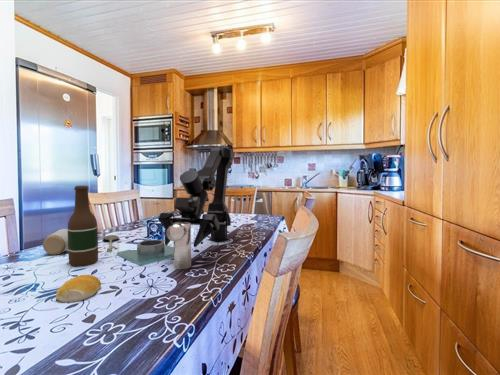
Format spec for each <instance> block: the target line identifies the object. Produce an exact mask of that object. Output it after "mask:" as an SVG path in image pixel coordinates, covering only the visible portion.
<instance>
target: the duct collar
mask: <svg viewBox="0 0 500 375" xmlns="http://www.w3.org/2000/svg"><path fill="white" fill-rule="evenodd" d="M136 246H137V247H136V248H137V250H130V249H126V250H121V251H117V252H116V255H117V256H118V257H120V258H123V259H124V260H127V261H129V262H131V263H133V264H136V265H138V266H145V265H149V264H151V263H155V262H159V261H163V260H167V259H169V258H171V259H172V258H174V246H171V245H169V244H168V245H165V240H163V239H148V240H141V241H140V242H137V245H136Z"/></svg>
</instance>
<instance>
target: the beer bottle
mask: <svg viewBox="0 0 500 375" xmlns="http://www.w3.org/2000/svg"><path fill="white" fill-rule="evenodd" d="M73 190H74V191H75V194H74V196H75V197H74V209H73V213H72V215H70V217H69V220H68V221H67V222H68V223H67V229H68V251H67V253H68V264H69V265H70V266H72V267H74V268H75V267H76V268H77V267H87V266H91V265H93V264H95V263H96V262H98V260H99V241H98V240H99V239H98V238H99V235H98V220H97V219H96V216H95V214H93V212H92V210H91V207H90V201H89V200H90V199H89V191H88V190H90V189H89V186H88V185H76V186H74V189H73Z"/></svg>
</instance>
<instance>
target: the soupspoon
mask: <svg viewBox="0 0 500 375" xmlns="http://www.w3.org/2000/svg"><path fill="white" fill-rule="evenodd" d="M119 238H121V237H120V236H119V235H115V234H110V235H106V236H104V237H102V238H101V239H102V240H104V239H105V240H107V241H109V246H108V248H107V249H106V252H107V253H108V252H109V253H111V252H113V248H112V245H113V240H117V239H119Z"/></svg>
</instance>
